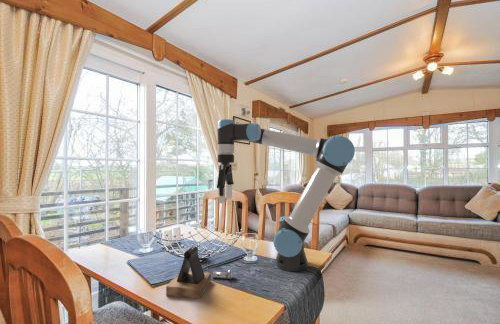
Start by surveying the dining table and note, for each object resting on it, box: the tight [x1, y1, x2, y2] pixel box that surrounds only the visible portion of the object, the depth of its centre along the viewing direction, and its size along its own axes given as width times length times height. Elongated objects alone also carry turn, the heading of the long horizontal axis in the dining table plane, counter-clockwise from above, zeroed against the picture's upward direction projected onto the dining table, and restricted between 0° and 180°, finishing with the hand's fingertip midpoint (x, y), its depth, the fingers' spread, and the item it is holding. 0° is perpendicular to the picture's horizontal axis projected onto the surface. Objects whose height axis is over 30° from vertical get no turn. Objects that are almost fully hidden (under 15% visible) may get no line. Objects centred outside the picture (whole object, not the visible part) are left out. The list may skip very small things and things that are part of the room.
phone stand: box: [177, 245, 205, 284], centre depth 98 cm, size 9×6×12 cm, turn 76°
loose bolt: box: [211, 268, 233, 280], centre depth 107 cm, size 8×4×4 cm, turn 82°
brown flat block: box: [165, 270, 212, 299], centre depth 98 cm, size 13×13×4 cm
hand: (225, 200), depth 114 cm, fingers open, 13 cm apart
